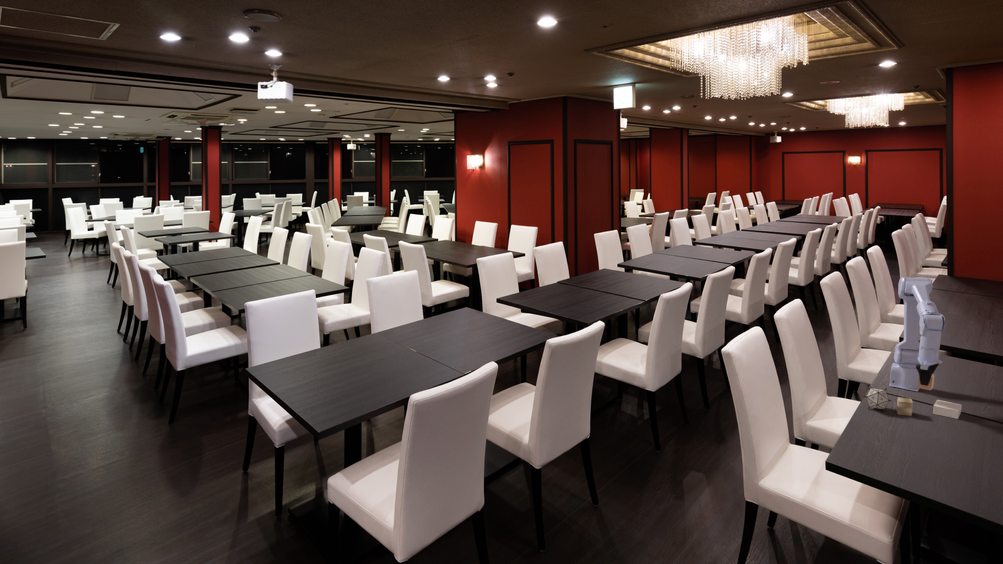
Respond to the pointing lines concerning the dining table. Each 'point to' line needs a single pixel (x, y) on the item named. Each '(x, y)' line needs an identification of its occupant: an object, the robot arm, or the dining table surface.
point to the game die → (877, 398)
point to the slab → (947, 409)
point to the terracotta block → (928, 384)
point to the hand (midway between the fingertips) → (925, 383)
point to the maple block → (904, 406)
